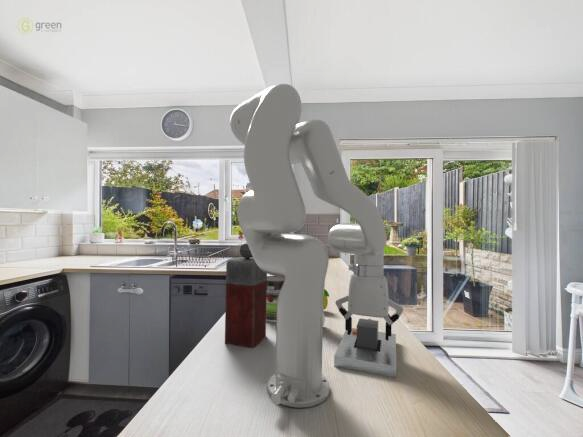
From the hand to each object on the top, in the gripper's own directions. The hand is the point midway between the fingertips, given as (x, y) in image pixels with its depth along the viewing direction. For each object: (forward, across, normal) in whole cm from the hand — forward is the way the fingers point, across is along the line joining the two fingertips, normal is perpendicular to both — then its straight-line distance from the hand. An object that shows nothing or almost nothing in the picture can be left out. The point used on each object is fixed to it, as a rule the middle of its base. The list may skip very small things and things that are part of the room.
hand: (367, 335), depth 75 cm
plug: (+5, 0, +1) cm, 5 cm away
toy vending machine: (+5, -34, -3) cm, 34 cm away
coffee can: (+5, -34, +17) cm, 38 cm away
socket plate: (+5, 0, 0) cm, 5 cm away
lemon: (+5, -20, +30) cm, 36 cm away
